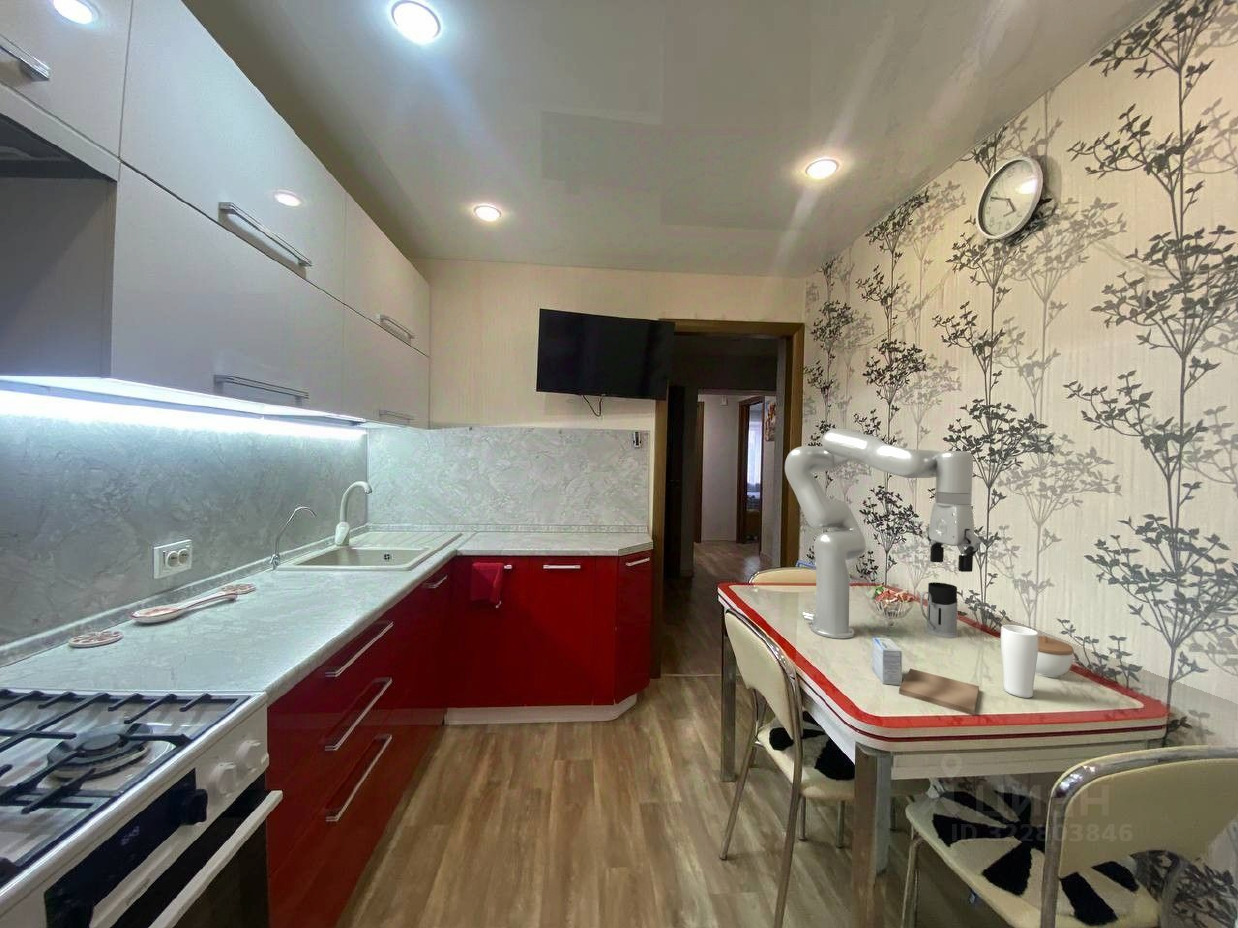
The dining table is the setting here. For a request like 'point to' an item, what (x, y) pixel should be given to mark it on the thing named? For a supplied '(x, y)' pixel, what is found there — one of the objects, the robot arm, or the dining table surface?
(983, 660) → the dining table surface
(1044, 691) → the dining table surface
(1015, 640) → the white tall cup
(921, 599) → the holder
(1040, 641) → the lidded jar
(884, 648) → the medicine box
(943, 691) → the walnut board
